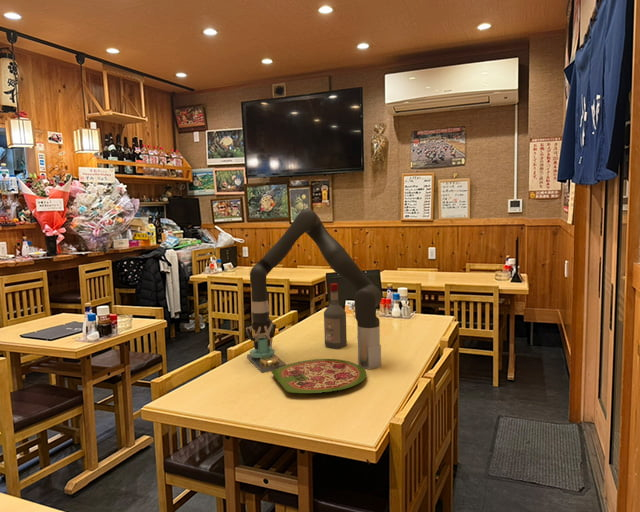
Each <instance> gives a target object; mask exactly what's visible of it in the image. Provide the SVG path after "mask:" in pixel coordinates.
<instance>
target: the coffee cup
mask: <svg viewBox="0 0 640 512" xmlns="http://www.w3.org/2000/svg"><path fill="white" fill-rule="evenodd" d="M269 322H270V323H271V324H273V322H274V321H272V320H271V319H270V318H269ZM270 331H271V327H269V329H268V333H269V335H270ZM261 337H266V336H265V334H264V333H261V334H259V337H258V338H261ZM273 338H274V337H273ZM273 338H270V346H269V348H272V349H273V340H274V339H273Z"/></svg>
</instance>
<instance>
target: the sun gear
mask: <svg viewBox="0 0 640 512" xmlns="http://www.w3.org/2000/svg"><path fill="white" fill-rule="evenodd" d="M279 359H280V357H278V358H276V357H275V356H273V357H265V358H261V359H260V365H264V366H274V365H276V364H279V362H280V361H279Z"/></svg>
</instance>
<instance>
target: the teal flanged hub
mask: <svg viewBox="0 0 640 512" xmlns="http://www.w3.org/2000/svg"><path fill="white" fill-rule="evenodd" d="M257 341H258V350H256V349H255V348H253V349H251V350H250V351H249V354H250V355H251V356H252V357H254V358H265V357H271V356H272V355H273V354H275V349H274V348H273V347H272V348H268V339H267V338H266V337H261V338H258V340H257ZM275 355H276V354H275Z"/></svg>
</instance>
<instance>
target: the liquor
mask: <svg viewBox="0 0 640 512" xmlns="http://www.w3.org/2000/svg"><path fill="white" fill-rule="evenodd" d="M329 290H330V303H329V305H328V306H327V307H326V308H325V310H324V311H323V322H324V323H323V327H324V328H323V330H324V331H323V334H324V345H325V347H326V348H327V349H334V350H340V349H342V348H344V347H347V345H348V343H347V342H348V341H347V338H348V337H347V335H348V334H347V312H346V310H345V309H344V308H343V307H342V306H341V305H340V302H339V284H338V283H336V282H335V283H333V282H332V283H330V284H329Z"/></svg>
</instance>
